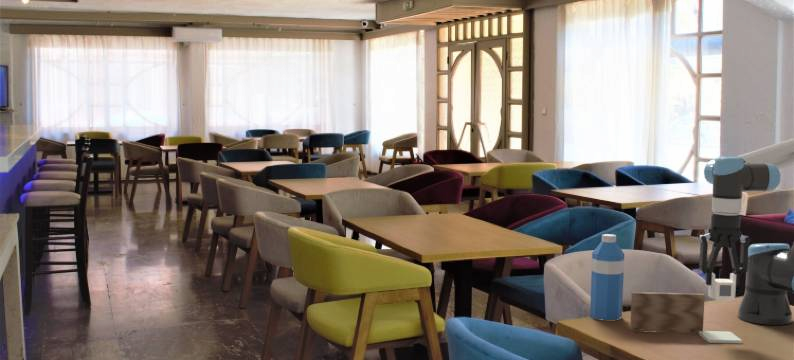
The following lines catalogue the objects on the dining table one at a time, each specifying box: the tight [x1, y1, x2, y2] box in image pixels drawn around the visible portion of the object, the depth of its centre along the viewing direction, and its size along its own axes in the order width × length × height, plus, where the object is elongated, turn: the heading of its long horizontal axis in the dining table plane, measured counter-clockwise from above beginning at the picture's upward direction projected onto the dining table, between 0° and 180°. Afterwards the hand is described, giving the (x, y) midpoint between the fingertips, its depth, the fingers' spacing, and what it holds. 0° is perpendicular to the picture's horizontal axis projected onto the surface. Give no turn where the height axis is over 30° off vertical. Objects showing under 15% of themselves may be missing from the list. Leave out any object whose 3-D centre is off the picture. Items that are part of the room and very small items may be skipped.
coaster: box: [698, 330, 743, 344], centre depth 242 cm, size 9×9×1 cm
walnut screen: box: [629, 291, 705, 335], centre depth 248 cm, size 20×4×11 cm, turn 88°
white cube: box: [712, 278, 735, 302], centre depth 241 cm, size 5×5×5 cm
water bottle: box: [589, 233, 625, 321], centre depth 263 cm, size 9×9×25 cm
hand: (721, 296), depth 241 cm, fingers closed on white cube, 5 cm apart
